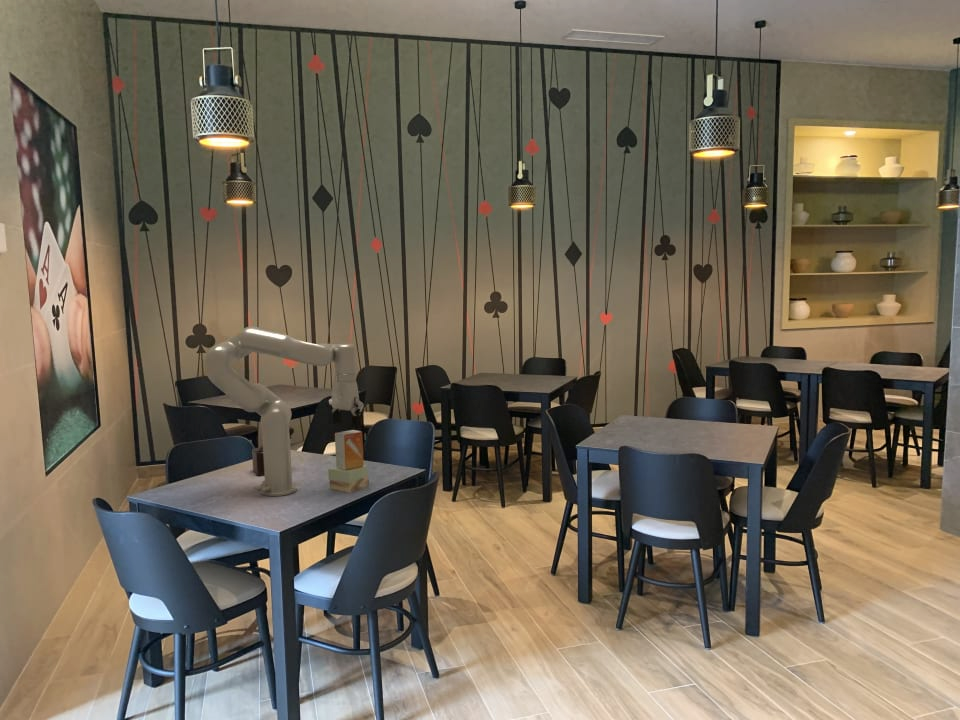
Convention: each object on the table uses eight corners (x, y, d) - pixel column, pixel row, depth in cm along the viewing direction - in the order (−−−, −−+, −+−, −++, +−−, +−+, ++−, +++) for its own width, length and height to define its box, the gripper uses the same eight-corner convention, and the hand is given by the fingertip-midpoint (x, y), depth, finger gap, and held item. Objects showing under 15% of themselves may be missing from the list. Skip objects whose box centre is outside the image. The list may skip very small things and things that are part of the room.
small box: (345, 470, 265) (343, 434, 263) (335, 467, 269) (334, 432, 268) (364, 466, 270) (362, 431, 269) (354, 463, 275) (352, 429, 274)
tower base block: (349, 493, 264) (348, 482, 263) (330, 489, 269) (329, 479, 269) (369, 487, 272) (368, 476, 271) (349, 483, 277) (349, 473, 277)
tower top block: (349, 482, 263) (349, 471, 263) (328, 479, 268) (328, 469, 268) (367, 476, 272) (367, 465, 271) (346, 473, 277) (346, 462, 276)
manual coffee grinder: (258, 477, 288) (255, 431, 286) (252, 471, 298) (249, 427, 296) (297, 471, 295) (295, 427, 293) (290, 465, 305) (288, 423, 303)
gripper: (321, 377, 268) (322, 423, 270) (354, 380, 258) (355, 429, 259) (336, 375, 274) (338, 420, 276) (369, 378, 264) (370, 425, 265)
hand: (346, 424), depth 267 cm, fingers open, 9 cm apart
